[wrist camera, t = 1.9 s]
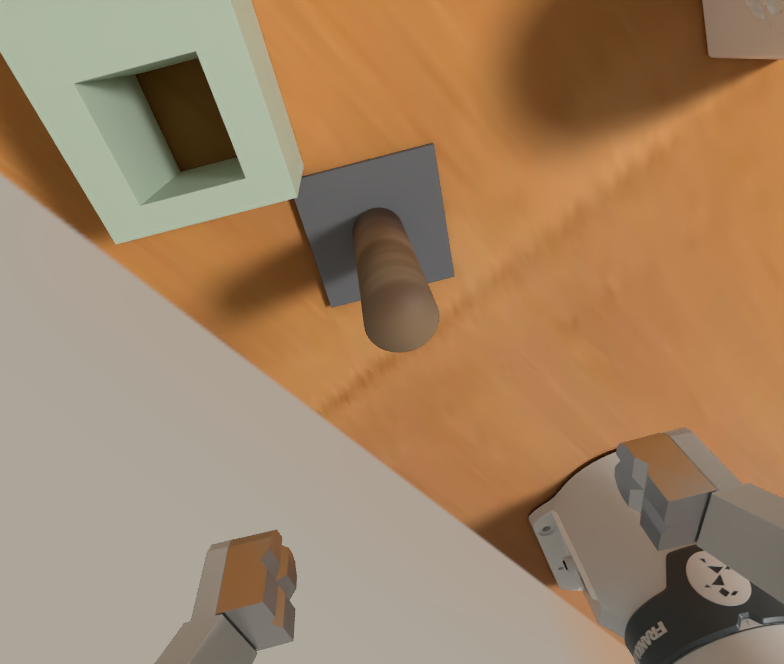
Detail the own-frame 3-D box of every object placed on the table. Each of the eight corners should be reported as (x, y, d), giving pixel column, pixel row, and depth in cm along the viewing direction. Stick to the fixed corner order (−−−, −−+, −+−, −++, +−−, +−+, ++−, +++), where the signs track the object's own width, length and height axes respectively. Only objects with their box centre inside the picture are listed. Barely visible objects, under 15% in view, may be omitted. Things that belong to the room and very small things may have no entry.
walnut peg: (408, 250, 27) (444, 342, 18) (359, 262, 27) (374, 360, 18) (397, 201, 25) (432, 278, 17) (346, 214, 25) (355, 298, 17)
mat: (452, 273, 28) (454, 276, 28) (331, 304, 29) (331, 307, 28) (432, 143, 24) (433, 144, 24) (288, 180, 24) (288, 182, 24)
